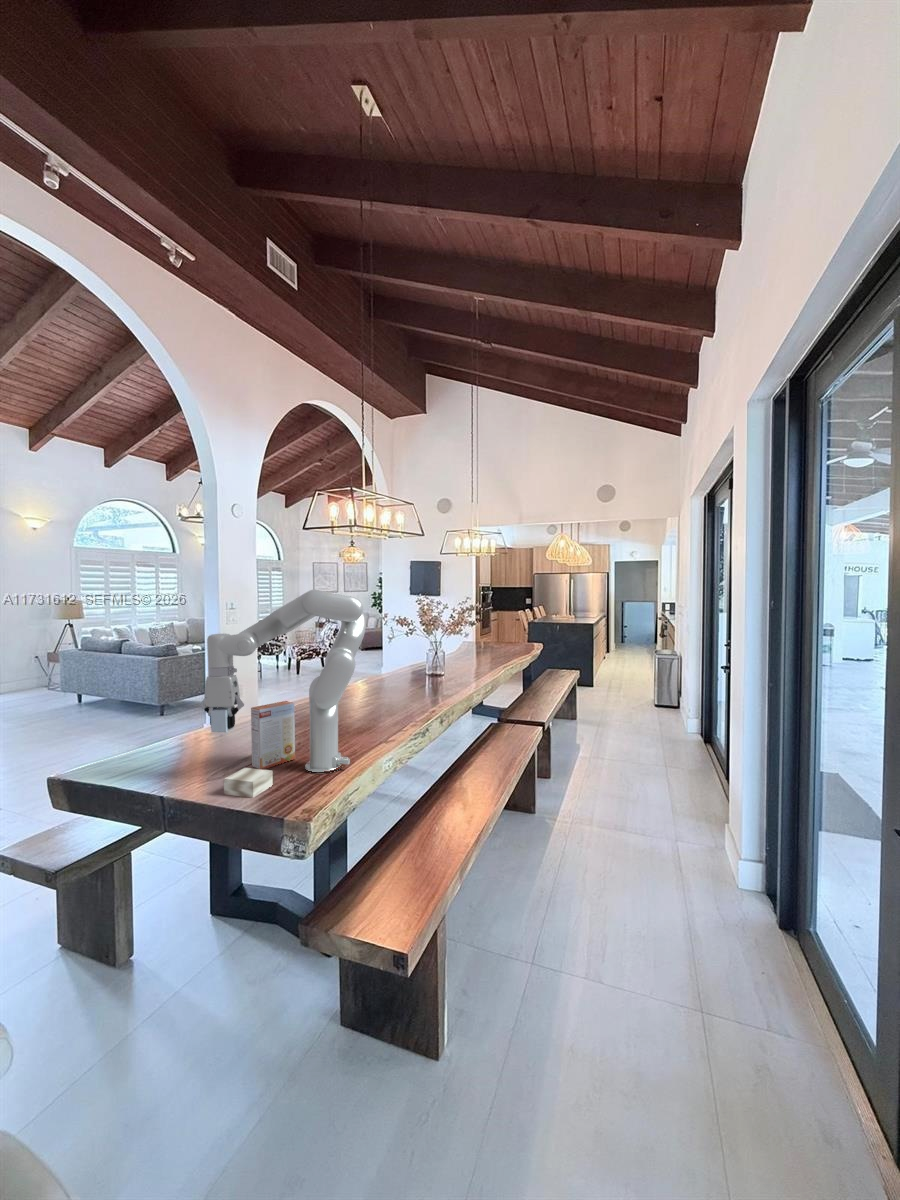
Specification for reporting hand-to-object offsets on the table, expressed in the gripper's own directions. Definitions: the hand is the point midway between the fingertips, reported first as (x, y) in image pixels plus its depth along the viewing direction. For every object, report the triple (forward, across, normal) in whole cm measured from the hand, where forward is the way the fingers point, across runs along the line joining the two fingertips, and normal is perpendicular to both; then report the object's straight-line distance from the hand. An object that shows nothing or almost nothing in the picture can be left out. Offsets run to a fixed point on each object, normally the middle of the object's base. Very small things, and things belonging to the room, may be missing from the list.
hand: (222, 727), depth 174 cm
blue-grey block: (+1, 0, 0) cm, 1 cm away
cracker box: (+17, -10, -15) cm, 25 cm away
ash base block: (+17, -13, +9) cm, 23 cm away
